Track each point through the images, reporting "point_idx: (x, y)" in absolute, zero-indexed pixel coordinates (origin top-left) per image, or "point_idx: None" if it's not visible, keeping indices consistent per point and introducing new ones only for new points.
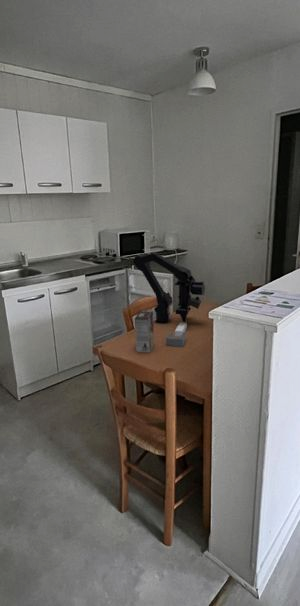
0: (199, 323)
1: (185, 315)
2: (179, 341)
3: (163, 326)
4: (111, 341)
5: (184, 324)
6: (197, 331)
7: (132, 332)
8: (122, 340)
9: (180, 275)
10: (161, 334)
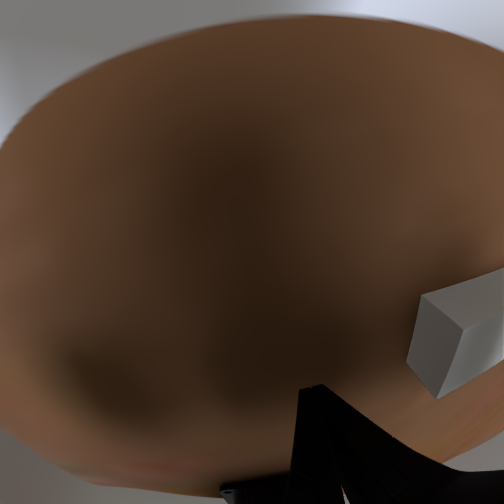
0: (198, 159)
1: (413, 461)
2: None
3: None
4: (485, 441)
5: (496, 325)
6: (487, 138)
7: None
8: (490, 431)
9: None
10: (493, 378)
